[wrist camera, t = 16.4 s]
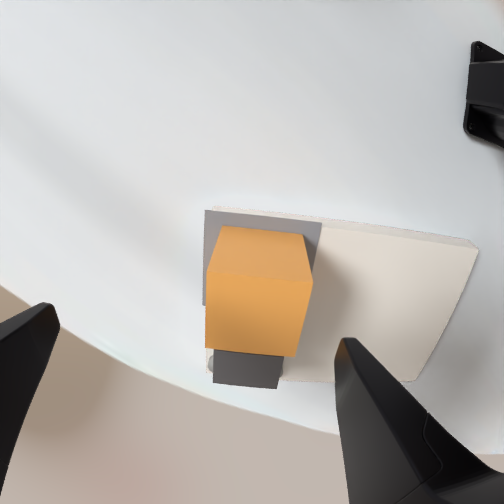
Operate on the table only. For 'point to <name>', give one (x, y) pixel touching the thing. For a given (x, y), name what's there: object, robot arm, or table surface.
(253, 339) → the cap
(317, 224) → the board
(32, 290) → the table surface
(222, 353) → the block
